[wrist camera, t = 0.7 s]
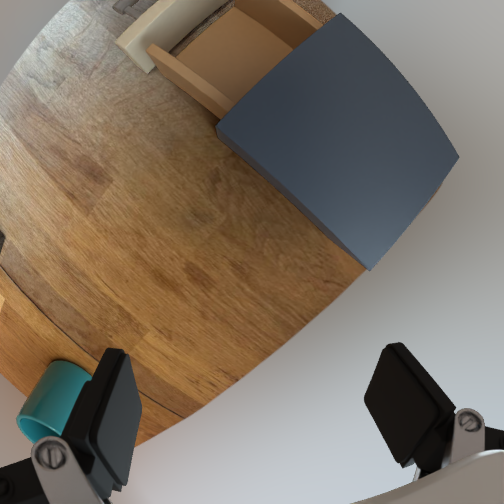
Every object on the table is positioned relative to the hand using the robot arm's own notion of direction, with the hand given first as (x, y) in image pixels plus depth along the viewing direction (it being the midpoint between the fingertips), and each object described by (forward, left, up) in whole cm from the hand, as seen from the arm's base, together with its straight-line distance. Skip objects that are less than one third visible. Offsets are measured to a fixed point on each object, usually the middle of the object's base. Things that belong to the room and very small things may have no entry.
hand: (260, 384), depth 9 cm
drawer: (-12, -13, -18) cm, 25 cm away
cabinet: (-12, 0, -19) cm, 22 cm away
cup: (+32, -4, -19) cm, 37 cm away
